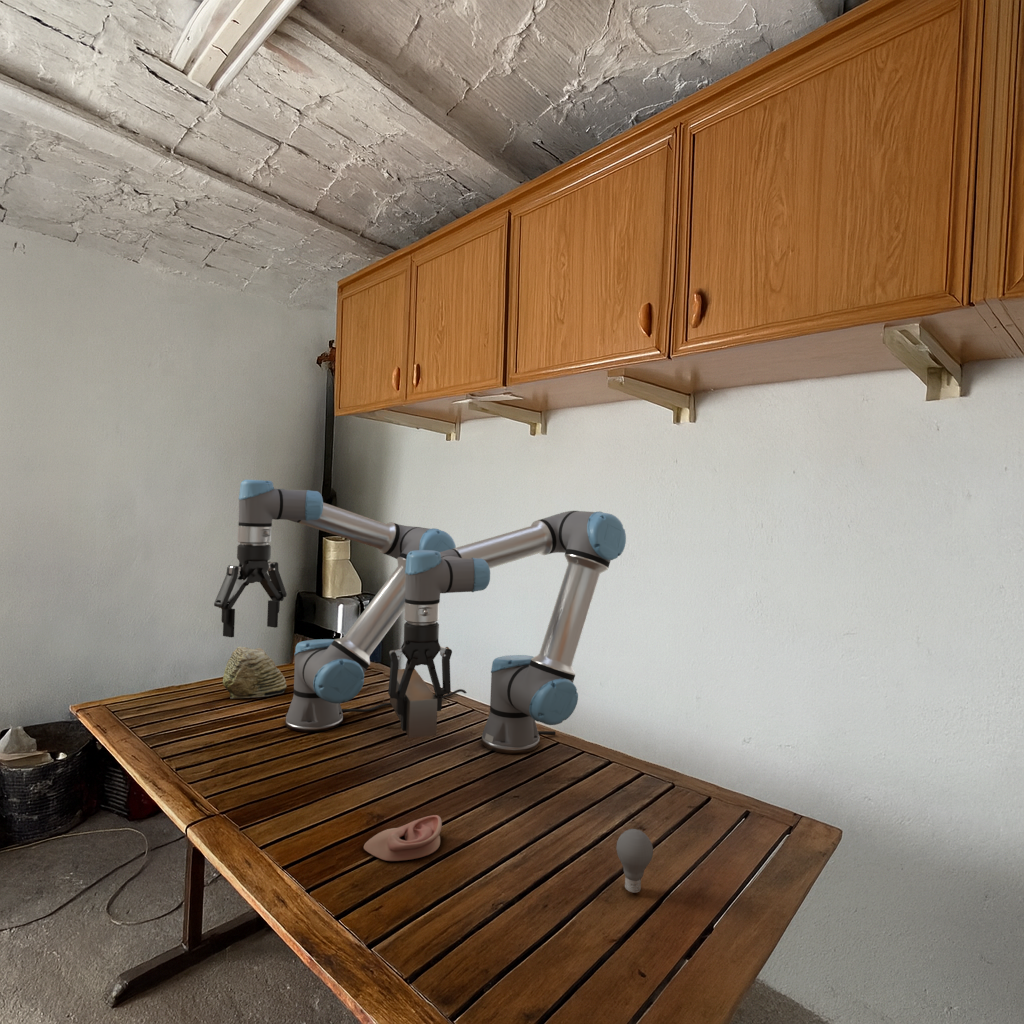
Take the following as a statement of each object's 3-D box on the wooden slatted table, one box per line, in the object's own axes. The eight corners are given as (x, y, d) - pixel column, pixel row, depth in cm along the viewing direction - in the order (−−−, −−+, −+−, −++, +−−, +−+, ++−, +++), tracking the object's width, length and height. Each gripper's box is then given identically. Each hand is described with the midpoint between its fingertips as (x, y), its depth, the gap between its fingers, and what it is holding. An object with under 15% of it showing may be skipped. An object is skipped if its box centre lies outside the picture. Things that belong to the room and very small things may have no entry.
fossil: (218, 695, 195) (220, 647, 195) (278, 685, 208) (279, 640, 207) (228, 703, 189) (230, 653, 188) (289, 692, 201) (290, 645, 201)
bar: (389, 701, 156) (390, 669, 156) (413, 699, 158) (414, 668, 158) (408, 738, 133) (409, 701, 133) (436, 735, 135) (437, 698, 135)
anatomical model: (356, 833, 112) (382, 804, 123) (355, 856, 112) (381, 824, 123) (428, 845, 109) (448, 813, 121) (427, 868, 109) (447, 834, 121)
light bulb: (610, 879, 108) (613, 822, 108) (644, 879, 109) (647, 822, 109) (619, 902, 102) (622, 840, 102) (655, 901, 103) (658, 840, 103)
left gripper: (223, 547, 140) (220, 643, 140) (303, 542, 163) (299, 624, 163) (199, 545, 143) (195, 638, 143) (280, 540, 166) (277, 621, 166)
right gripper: (380, 627, 131) (377, 738, 131) (468, 623, 137) (465, 729, 138) (375, 620, 138) (372, 725, 138) (459, 616, 144) (456, 717, 145)
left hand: (251, 631), depth 153 cm, fingers open, 13 cm apart
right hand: (418, 727), depth 138 cm, fingers closed on bar, 6 cm apart
